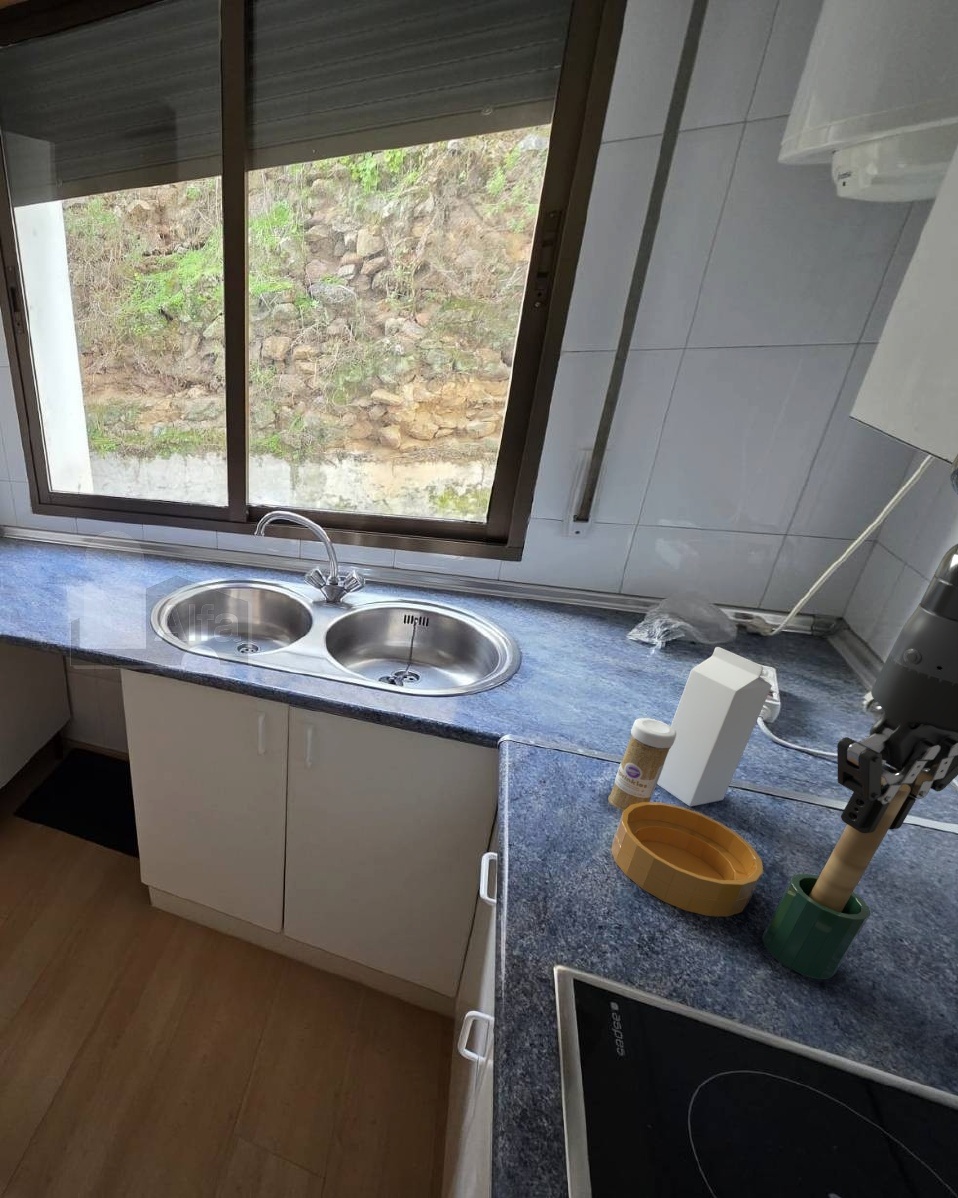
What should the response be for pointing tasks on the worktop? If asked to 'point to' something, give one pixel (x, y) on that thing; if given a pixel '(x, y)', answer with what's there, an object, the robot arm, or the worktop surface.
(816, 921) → the utensil pot
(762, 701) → the milk
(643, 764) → the sprinkles bottle
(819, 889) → the stick
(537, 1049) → the worktop surface
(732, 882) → the bowl
